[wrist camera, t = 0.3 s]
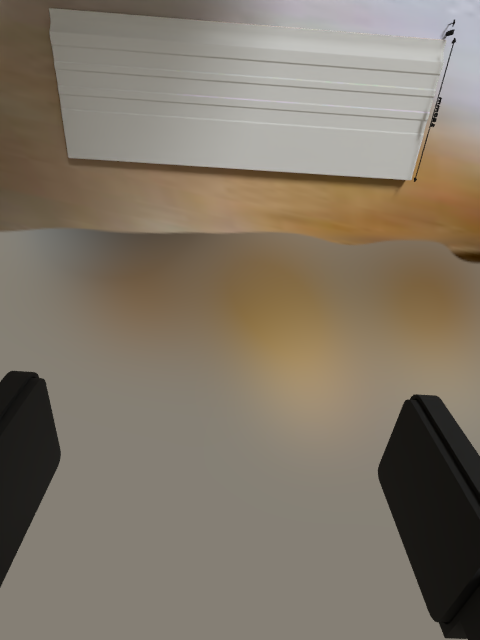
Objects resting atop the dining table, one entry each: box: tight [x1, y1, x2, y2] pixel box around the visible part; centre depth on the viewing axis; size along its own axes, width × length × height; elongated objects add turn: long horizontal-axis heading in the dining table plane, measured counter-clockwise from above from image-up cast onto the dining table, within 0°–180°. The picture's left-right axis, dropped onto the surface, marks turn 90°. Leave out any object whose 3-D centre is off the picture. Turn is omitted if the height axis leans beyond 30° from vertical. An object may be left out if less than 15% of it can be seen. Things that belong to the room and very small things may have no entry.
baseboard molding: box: [49, 8, 456, 182], centre depth 32 cm, size 31×3×12 cm
